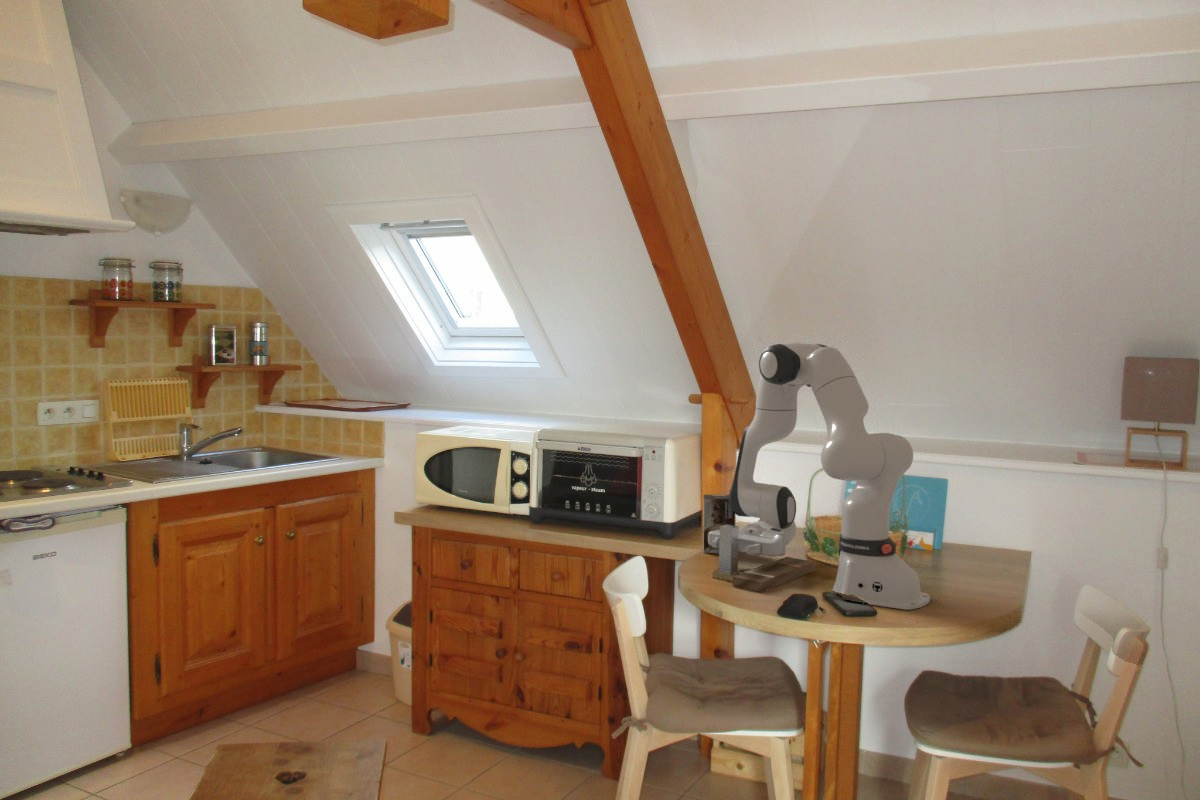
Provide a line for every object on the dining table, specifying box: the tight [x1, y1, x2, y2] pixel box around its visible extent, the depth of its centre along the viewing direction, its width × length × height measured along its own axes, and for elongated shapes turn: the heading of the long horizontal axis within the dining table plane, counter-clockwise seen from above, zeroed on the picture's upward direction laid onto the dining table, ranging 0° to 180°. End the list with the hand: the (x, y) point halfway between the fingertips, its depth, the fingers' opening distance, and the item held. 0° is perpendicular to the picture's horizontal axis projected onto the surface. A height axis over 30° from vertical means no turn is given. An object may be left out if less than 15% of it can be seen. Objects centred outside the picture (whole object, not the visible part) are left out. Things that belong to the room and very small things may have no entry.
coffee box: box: [702, 494, 736, 554], centre depth 269 cm, size 9×6×16 cm
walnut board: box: [732, 556, 815, 593], centre depth 240 cm, size 8×28×3 cm, turn 141°
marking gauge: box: [711, 525, 742, 582], centre depth 239 cm, size 7×4×14 cm, turn 51°
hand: (729, 547), depth 239 cm, fingers open, 8 cm apart
